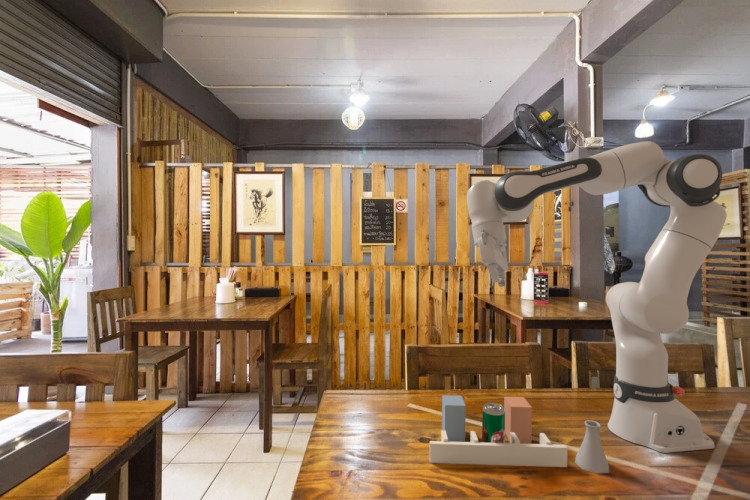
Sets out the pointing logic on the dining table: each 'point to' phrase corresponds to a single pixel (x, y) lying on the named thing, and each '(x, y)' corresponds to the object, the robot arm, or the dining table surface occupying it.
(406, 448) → the dining table surface
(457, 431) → the slate blue upright block
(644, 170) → the robot arm
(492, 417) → the soda can
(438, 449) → the tray
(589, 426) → the flask
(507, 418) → the salmon pink brick
